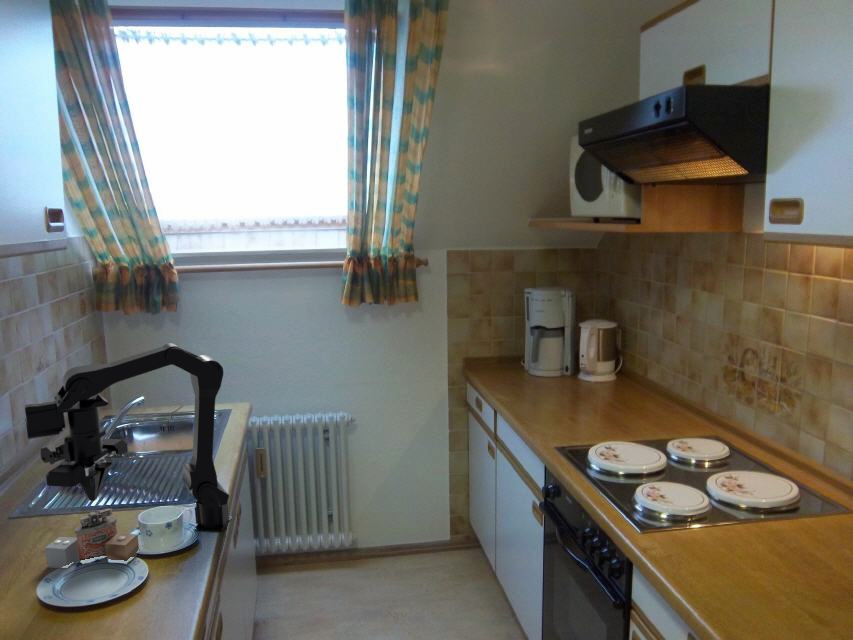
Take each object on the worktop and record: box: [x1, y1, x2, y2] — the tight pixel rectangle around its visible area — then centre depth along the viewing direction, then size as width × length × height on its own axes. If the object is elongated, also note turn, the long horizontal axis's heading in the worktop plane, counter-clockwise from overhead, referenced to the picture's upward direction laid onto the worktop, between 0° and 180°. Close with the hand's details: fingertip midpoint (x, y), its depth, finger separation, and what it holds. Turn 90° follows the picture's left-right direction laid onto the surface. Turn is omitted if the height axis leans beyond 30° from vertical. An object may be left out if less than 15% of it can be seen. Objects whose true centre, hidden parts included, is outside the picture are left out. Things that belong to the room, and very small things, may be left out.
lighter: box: [74, 508, 118, 562], centre depth 143 cm, size 8×3×10 cm, turn 129°
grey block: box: [44, 536, 79, 569], centre depth 142 cm, size 4×4×5 cm
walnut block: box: [105, 532, 140, 561], centre depth 143 cm, size 4×4×5 cm
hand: (93, 500), depth 142 cm, fingers closed
